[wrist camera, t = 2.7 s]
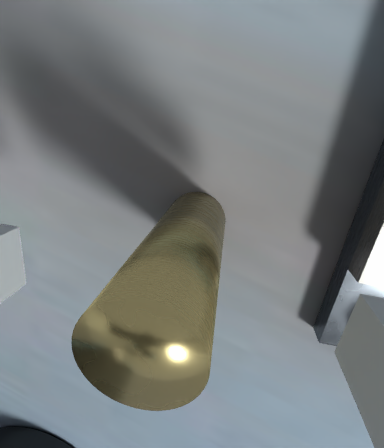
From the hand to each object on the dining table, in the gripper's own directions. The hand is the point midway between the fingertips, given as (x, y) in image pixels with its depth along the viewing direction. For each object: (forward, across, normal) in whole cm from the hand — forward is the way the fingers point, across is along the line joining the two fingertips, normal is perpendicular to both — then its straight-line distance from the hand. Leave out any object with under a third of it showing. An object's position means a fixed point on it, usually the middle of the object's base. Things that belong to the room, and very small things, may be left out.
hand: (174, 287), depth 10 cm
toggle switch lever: (+9, 0, 0) cm, 9 cm away
